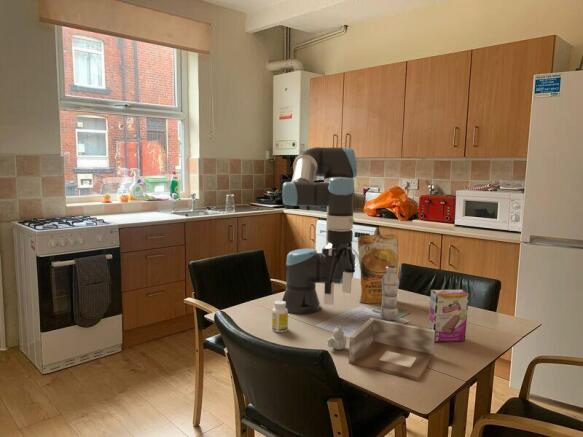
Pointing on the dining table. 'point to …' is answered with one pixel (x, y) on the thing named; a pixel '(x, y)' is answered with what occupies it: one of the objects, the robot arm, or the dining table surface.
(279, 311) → the supplement bottle
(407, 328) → the arena
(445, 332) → the candy bar box
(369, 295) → the pancake mix bag
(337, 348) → the white lumpy figure
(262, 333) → the dining table surface
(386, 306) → the plastic bottle
